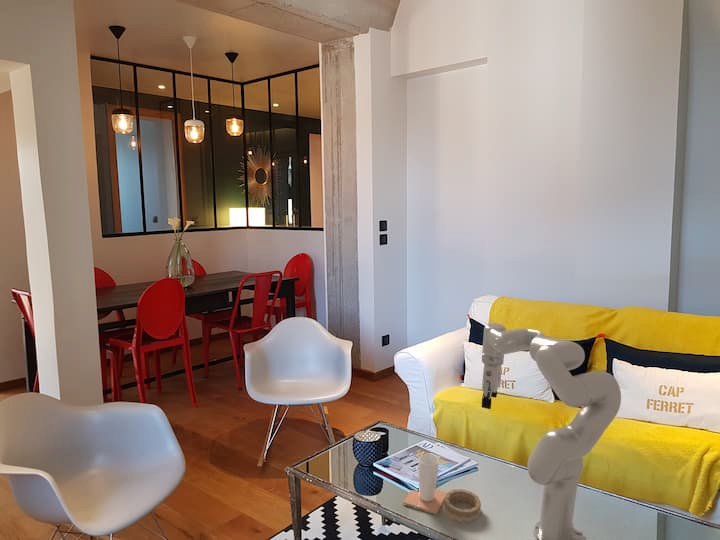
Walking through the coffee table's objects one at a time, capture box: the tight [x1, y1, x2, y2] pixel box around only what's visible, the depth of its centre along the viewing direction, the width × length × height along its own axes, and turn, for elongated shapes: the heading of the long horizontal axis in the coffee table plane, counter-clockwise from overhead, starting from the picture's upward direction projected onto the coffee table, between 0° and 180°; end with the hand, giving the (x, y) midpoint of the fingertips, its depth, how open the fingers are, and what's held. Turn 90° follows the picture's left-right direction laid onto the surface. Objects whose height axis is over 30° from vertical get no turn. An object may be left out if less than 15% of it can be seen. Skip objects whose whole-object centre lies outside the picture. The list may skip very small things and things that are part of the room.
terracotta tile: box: [402, 488, 448, 515], centre depth 195 cm, size 12×12×1 cm
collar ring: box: [443, 488, 482, 523], centre depth 190 cm, size 12×12×4 cm
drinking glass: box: [417, 453, 439, 502], centre depth 193 cm, size 7×7×15 cm
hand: (489, 402), depth 202 cm, fingers open, 9 cm apart
